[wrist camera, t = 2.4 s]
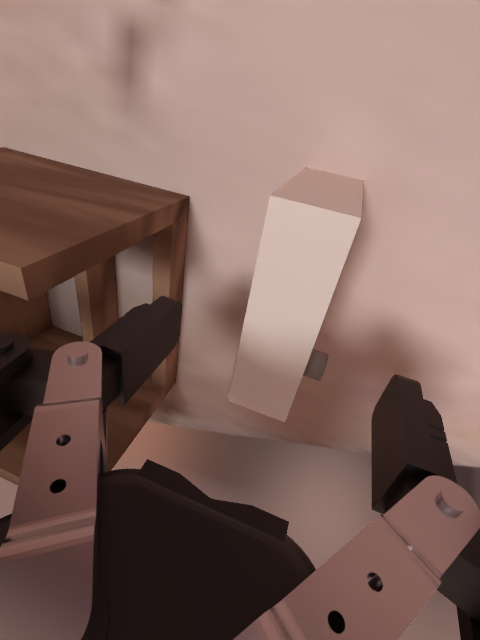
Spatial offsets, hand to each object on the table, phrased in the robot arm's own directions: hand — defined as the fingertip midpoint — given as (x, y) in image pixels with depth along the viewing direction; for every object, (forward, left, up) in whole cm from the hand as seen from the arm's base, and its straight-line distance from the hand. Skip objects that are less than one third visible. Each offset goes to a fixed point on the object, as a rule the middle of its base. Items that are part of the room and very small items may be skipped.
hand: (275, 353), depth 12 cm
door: (0, 0, -9) cm, 9 cm away
